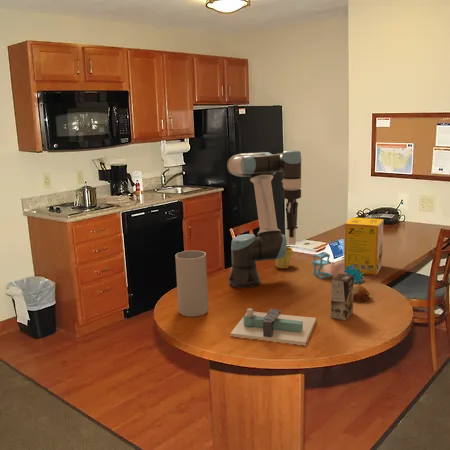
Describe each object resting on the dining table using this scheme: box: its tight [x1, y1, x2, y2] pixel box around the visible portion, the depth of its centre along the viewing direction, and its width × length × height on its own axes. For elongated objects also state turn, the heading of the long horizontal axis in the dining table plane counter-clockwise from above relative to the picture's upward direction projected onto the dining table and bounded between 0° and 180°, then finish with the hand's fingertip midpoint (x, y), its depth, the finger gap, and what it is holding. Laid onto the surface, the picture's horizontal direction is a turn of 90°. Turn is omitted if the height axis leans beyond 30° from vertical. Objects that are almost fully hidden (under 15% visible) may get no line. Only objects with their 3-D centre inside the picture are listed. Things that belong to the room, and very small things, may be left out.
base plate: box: [230, 311, 317, 347], centre depth 195 cm, size 28×22×2 cm
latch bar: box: [243, 307, 303, 332], centre depth 192 cm, size 22×5×6 cm, turn 69°
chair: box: [311, 252, 333, 280], centre depth 254 cm, size 8×8×12 cm
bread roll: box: [353, 283, 371, 303], centre depth 223 cm, size 10×10×8 cm
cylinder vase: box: [174, 250, 209, 318], centre depth 212 cm, size 12×12×25 cm
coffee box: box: [330, 273, 355, 321], centre depth 204 cm, size 9×6×16 cm
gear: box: [344, 265, 364, 285], centre depth 245 cm, size 11×6×10 cm
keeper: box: [263, 308, 282, 337], centre depth 190 cm, size 4×12×6 cm, turn 161°
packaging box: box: [343, 216, 384, 276], centre depth 261 cm, size 16×16×25 cm
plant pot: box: [274, 246, 293, 269], centre depth 270 cm, size 10×10×10 cm
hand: (292, 244), depth 214 cm, fingers closed
